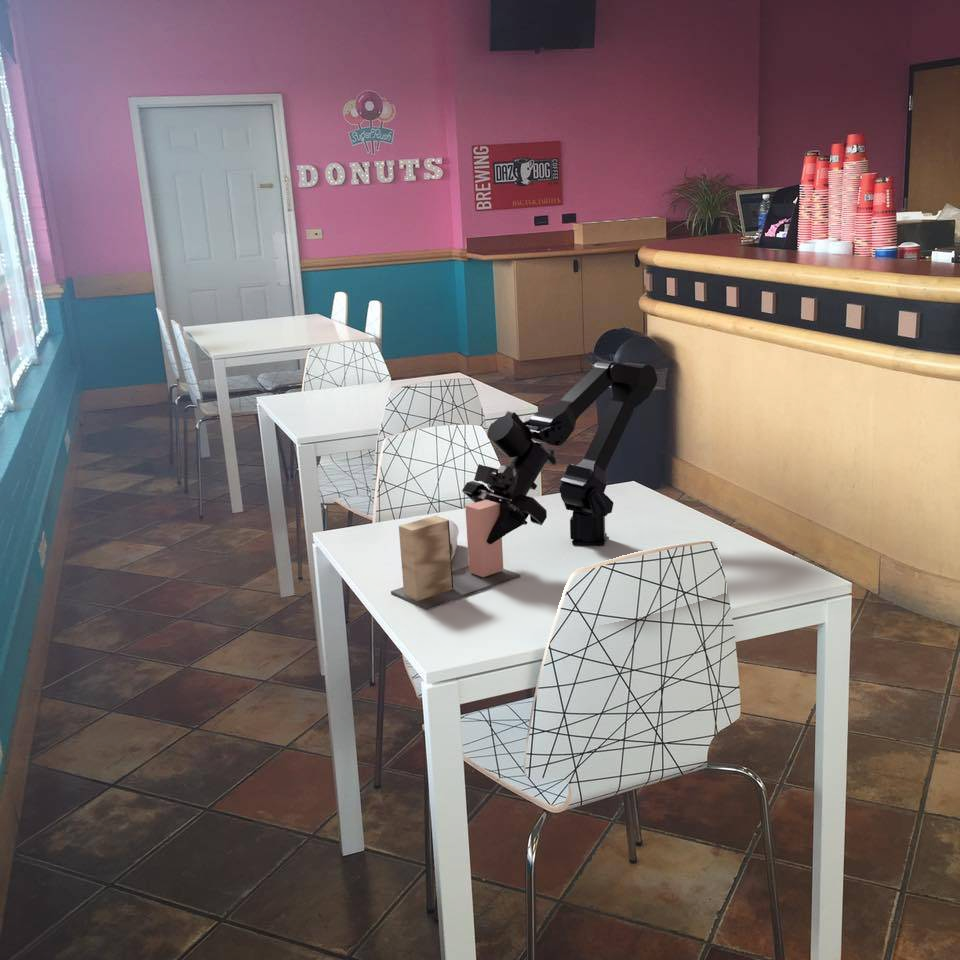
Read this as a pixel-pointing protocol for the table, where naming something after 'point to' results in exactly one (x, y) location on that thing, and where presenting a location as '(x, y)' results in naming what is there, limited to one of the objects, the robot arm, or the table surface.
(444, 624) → the table surface
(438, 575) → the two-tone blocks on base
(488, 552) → the stub
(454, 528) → the drinking glass
